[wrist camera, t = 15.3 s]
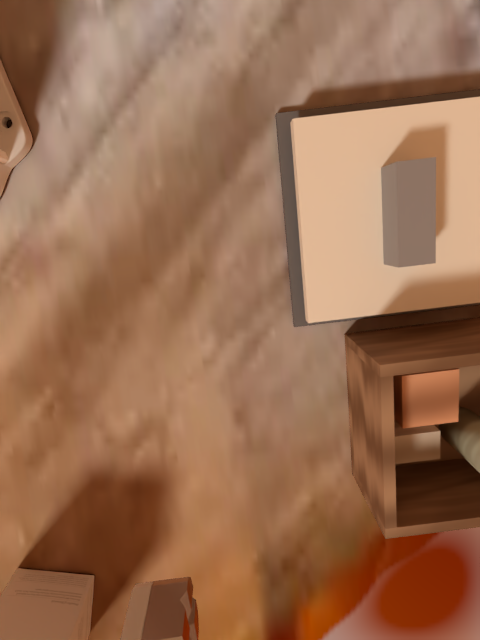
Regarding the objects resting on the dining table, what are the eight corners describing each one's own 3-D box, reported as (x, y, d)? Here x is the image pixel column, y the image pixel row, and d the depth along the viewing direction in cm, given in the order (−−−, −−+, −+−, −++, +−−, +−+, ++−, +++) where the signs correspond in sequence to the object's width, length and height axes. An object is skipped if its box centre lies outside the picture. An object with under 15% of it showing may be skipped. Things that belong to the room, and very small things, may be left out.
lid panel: (288, 126, 33) (299, 106, 28) (483, 103, 33) (531, 79, 28) (303, 317, 37) (315, 331, 32) (477, 296, 37) (518, 307, 32)
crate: (344, 333, 38) (379, 365, 29) (503, 314, 38) (586, 340, 29) (352, 473, 42) (385, 538, 33) (496, 455, 42) (568, 515, 33)
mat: (275, 115, 33) (276, 113, 33) (491, 89, 33) (496, 87, 33) (293, 325, 38) (294, 327, 37) (484, 302, 38) (488, 303, 37)
